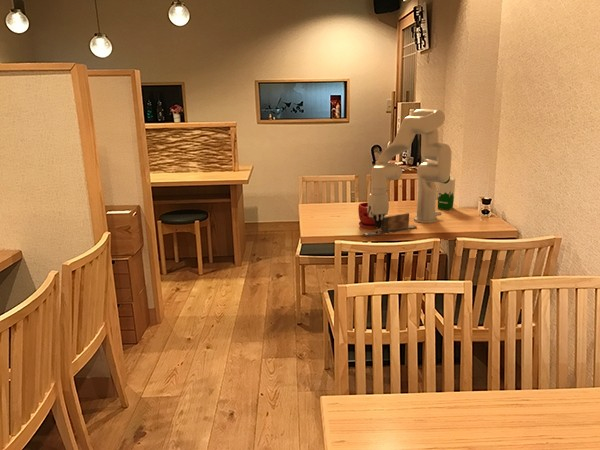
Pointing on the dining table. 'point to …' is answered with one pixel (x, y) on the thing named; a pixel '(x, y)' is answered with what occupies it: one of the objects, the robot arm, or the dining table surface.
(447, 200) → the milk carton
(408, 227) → the screen rail
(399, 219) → the walnut screen
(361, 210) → the plant pot
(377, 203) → the robot arm
